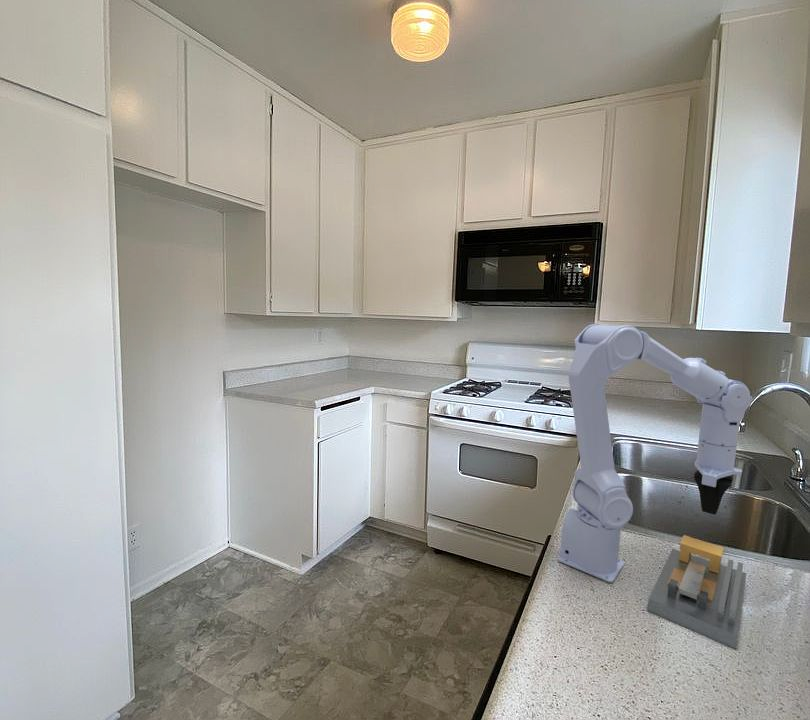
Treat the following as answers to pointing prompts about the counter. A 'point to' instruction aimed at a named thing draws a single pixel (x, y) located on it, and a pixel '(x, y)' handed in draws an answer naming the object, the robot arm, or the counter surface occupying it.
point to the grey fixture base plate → (701, 599)
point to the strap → (692, 579)
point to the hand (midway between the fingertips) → (709, 511)
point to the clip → (701, 552)
